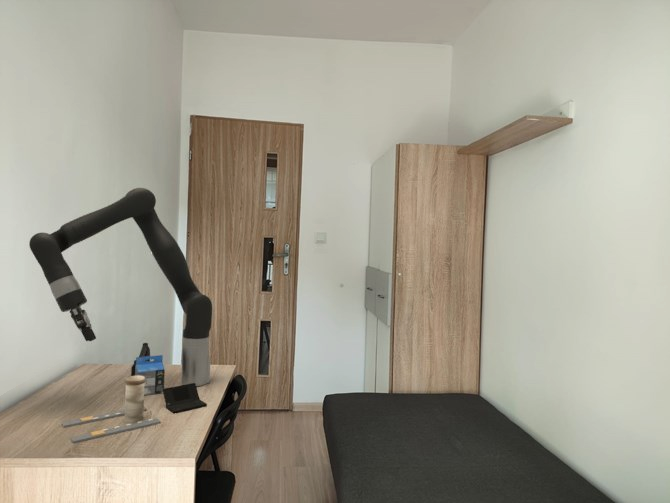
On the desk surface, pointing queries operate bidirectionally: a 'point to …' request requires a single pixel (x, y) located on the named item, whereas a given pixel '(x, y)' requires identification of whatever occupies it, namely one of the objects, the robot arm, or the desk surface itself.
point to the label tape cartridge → (151, 373)
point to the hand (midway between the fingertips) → (91, 340)
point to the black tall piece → (144, 352)
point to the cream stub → (134, 398)
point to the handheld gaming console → (182, 398)
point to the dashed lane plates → (106, 431)
